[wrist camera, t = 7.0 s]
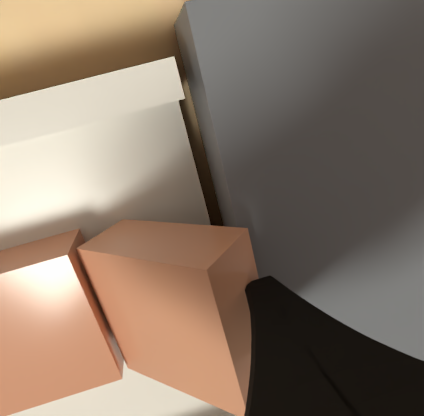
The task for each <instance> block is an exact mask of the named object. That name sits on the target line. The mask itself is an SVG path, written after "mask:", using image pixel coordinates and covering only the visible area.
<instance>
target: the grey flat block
mask: <svg viewBox="0 0 424 416" xmlns="http://www.w3.org/2000/svg"><path fill="white" fill-rule="evenodd" d="M174 28H175V32H176V37H177V41H178V45H179V49H180V53H181V57H182V61H183V65H184V69H185V73H186V77H187V81H188V85H189V89H190V93H191V97H192V101H193V105H194V109H195V113H196V117H197V121H198V125H199V129H200V133H201V137H202V141H203V145H204V149H205V154H206V158H207V162H208V166H209V170H210V174H211V178H212V182H213V186H214V190H215V194H216V198H217V202H218V206H219V210H220V214H221V218H222V222H223V226H226V227H240V228H248V231H249V236H250V241H251V245H252V250H253V254H254V259H255V263H256V268H257V273H258V277H259V278H263V277H266V276H269V275H270V276H272V277H274V278H275V279H277V280H278V281H279V282H281V283H282V284H283V285H285V286H286V287H287V288H289V289H290V290H292V291H293V292H294V293H296V294H297V295H299V296H300V297H302V298H303V299H305V300H306V301H308V302H309V303H311V304H312V305H314V306H315V307H317V308H319V309H320V310H322V311H323V312H325V313H326V314H328V315H330V316H331V317H333V318H335V319H336V320H338V321H340V322H342V323H343V324H345V325H347V326H349V327H351V328H352V329H354V330H356V331H358V332H360V333H362V334H364V335H366V336H368V337H370V338H372V339H374V340H376V341H378V342H380V343H382V344H385V345H387V346H389V347H391V348H393V349H396V350H398V351H400V352H403V353H405V354H407V355H410V356H412V357H415V358H417V359H420V360H422V361H424V0H191V1H187V2H185V3H184V5H183V7H182V9H181V11H180V13H179V15H178V18H177V20H176V22H175V24H174Z"/></svg>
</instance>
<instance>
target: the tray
mask: <svg viewBox="0 0 424 416" xmlns="http://www.w3.org/2000/svg"><path fill="white" fill-rule="evenodd" d="M182 99H185V96H184V92H183V88H182V85H181V81H180V77H179V73H178V69H177V65H176V61H175V57H174V56H173V57H169V58H165V59H161V60H157V61H153V62H149V63H145V64H141V65H137V66H133V67H129V68H125V69H121V70H117V71H113V72H109V73H105V74H101V75H97V76H93V77H89V78H85V79H81V80H78V81H74V82H70V83H66V84H62V85H58V86H54V87H50V88H46V89H42V90H38V91H34V92H30V93H26V94H22V95H18V96H14V97H10V98H6V99H2V100H0V251H1V250H4V249H8V248H11V247H15V246H18V245H22V244H25V243H29V242H33V241H36V240H40V239H43V238H47V237H50V236H54V235H57V234H61V233H64V232H68V231H72V230H75V229H79V228H80V231H81V233H82V235H83V238H84V240H85V243H86V242H87V241H89V240H91V239H92V238H94V237H95V236H97V235H99V234H100V233H102V232H103V231H105V230H106V229H108V228H110V227H111V226H113V225H114V224H116V223H118V222H119V221H121V220H122V219H128V220H142V221H156V222H170V223H184V224H198V225H211V223H210V219H209V215H208V212H207V208H206V204H205V200H204V196H203V193H202V189H201V185H200V181H199V177H198V173H197V170H196V166H195V162H194V158H193V154H192V151H191V147H190V143H189V139H188V135H187V132H186V128H185V124H184V120H183V116H182V112H181V109H180V105H179V101H178V100H182ZM8 416H236V415H234V414H231V413H229V412H227V411H225V410H222V409H220V408H218V407H215V406H213V405H211V404H209V403H206V402H204V401H202V400H199V399H197V398H195V397H193V396H190V395H188V394H186V393H183V392H181V391H179V390H177V389H174V388H172V387H170V386H167V385H165V384H163V383H161V382H158V381H156V380H154V379H152V378H149V377H147V376H145V375H142V374H140V373H138V372H136V371H133V370H131V369H129V368H127V365H126V363H125V361H124V365H123V377H122V379H121V380H118V381H115V382H111V383H108V384H105V385H102V386H99V387H96V388H93V389H89V390H86V391H83V392H80V393H77V394H74V395H71V396H68V397H64V398H61V399H58V400H55V401H52V402H49V403H46V404H42V405H39V406H36V407H33V408H30V409H27V410H24V411H20V412H17V413H14V414H11V415H8Z"/></svg>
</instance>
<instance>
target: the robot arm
mask: <svg viewBox="0 0 424 416" xmlns="http://www.w3.org/2000/svg"><path fill="white" fill-rule="evenodd" d="M245 293H246V298H247V302H248V306H249V310H250V319H251V365H250V377H249V386H248V395H247V402H246V408H245V414H244V416H424V361H422V360H420V359H417V358H415V357H412V356H410V355H407V354H405V353H403V352H400V351H398V350H396V349H393V348H391V347H389V346H387V345H385V344H382V343H380V342H378V341H376V340H374V339H372V338H370V337H368V336H366V335H364V334H362V333H360V332H358V331H356V330H354V329H352V328H351V327H349V326H347V325H345V324H343V323H342V322H340V321H338V320H336V319H335V318H333V317H331V316H330V315H328V314H326V313H325V312H323V311H322V310H320V309H319V308H317V307H315V306H314V305H312V304H311V303H309V302H308V301H306V300H305V299H303V298H302V297H300V296H299V295H297V294H296V293H294V292H293V291H292V290H290V289H289V288H287V287H286V286H285V285H283V284H282V283H281V282H279V281H278V280H277V279H275V278H274V277H272V276H270V275H269V276H266V277H263V278H259V279H256V280H253V281H251V282H250V283H248V284H247V286H246V289H245Z"/></svg>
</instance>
